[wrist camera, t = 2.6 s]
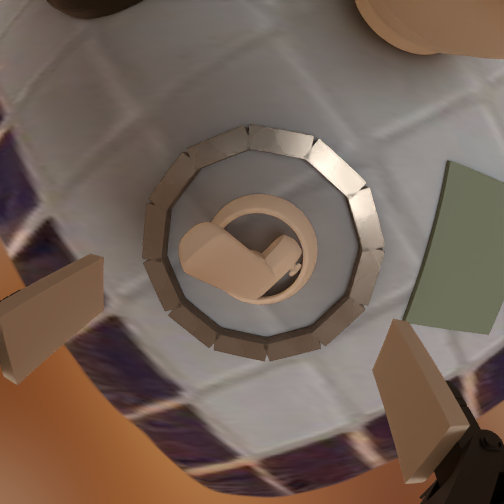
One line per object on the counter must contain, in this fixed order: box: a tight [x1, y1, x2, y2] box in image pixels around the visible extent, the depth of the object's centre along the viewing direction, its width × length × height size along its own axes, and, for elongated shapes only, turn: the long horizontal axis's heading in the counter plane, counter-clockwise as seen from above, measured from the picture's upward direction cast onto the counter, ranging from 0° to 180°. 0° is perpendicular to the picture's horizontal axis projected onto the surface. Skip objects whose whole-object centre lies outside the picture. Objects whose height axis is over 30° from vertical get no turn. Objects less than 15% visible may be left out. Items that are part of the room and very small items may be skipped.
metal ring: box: [142, 125, 385, 361], centre depth 21 cm, size 16×16×1 cm
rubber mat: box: [403, 161, 504, 335], centre depth 19 cm, size 12×9×1 cm
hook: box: [179, 194, 318, 305], centre depth 18 cm, size 8×12×7 cm
